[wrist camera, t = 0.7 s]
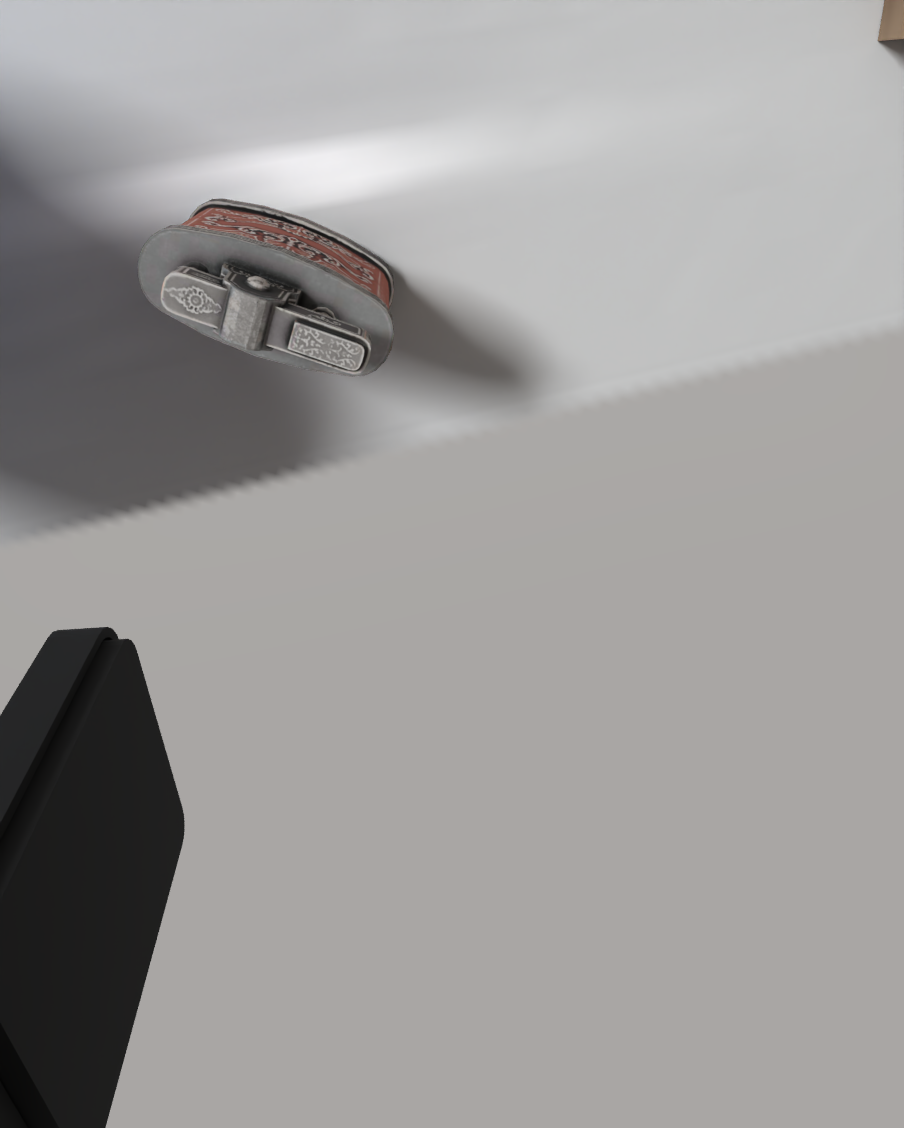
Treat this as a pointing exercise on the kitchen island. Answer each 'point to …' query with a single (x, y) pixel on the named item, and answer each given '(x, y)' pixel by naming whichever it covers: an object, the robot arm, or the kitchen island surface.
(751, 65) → the kitchen island surface
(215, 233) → the lighter
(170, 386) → the kitchen island surface
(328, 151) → the kitchen island surface
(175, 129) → the kitchen island surface
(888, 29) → the riser
